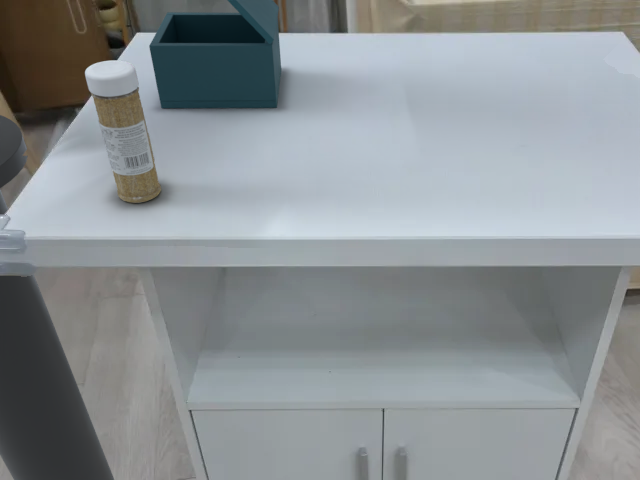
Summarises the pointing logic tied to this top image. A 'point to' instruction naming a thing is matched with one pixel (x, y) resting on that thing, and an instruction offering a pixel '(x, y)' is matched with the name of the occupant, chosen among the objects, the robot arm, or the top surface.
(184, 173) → the top surface
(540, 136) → the top surface
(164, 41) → the teal hollow box
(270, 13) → the lid
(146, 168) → the sprinkles bottle
